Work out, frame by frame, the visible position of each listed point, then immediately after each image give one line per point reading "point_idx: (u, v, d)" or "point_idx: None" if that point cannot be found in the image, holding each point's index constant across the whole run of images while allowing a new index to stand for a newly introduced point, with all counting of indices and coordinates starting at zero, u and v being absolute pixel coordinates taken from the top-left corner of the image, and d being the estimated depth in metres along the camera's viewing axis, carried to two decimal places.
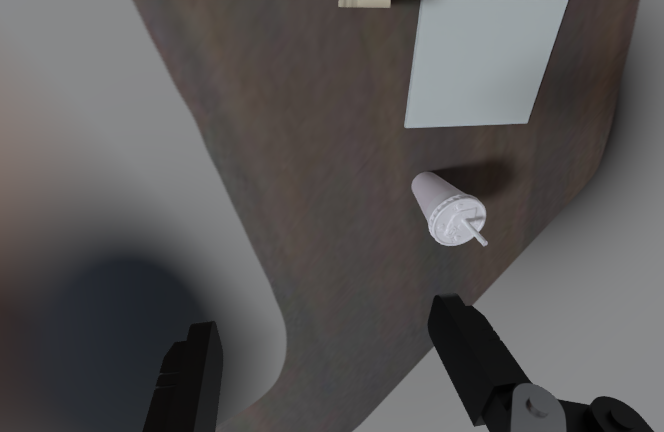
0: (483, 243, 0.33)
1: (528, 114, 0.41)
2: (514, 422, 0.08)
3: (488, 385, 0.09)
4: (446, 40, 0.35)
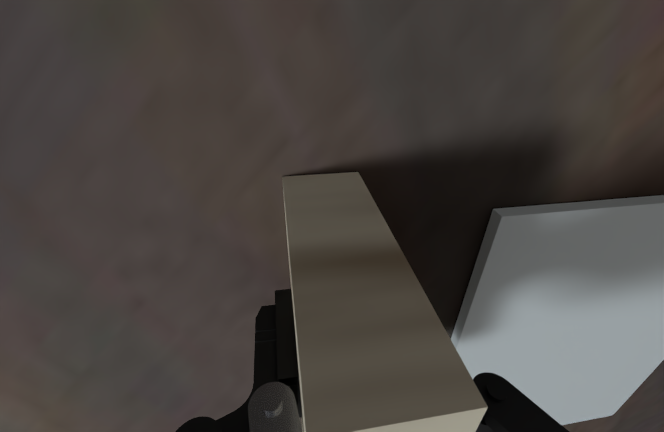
0: None
1: (616, 408, 0.25)
2: None
3: None
4: (497, 369, 0.19)
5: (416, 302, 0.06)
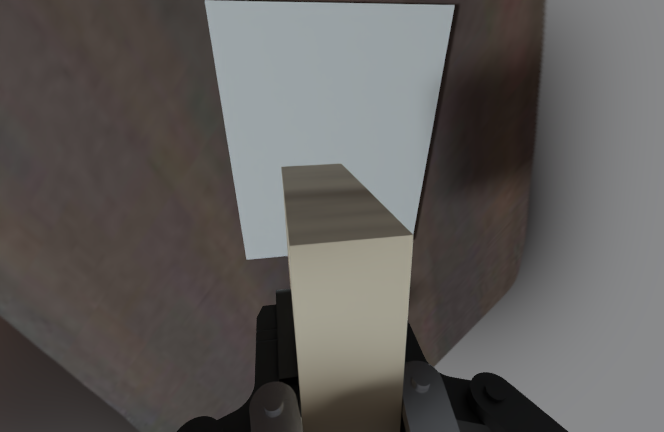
0: None
1: None
2: (408, 409, 0.08)
3: None
4: (273, 165, 0.26)
5: (374, 206, 0.09)
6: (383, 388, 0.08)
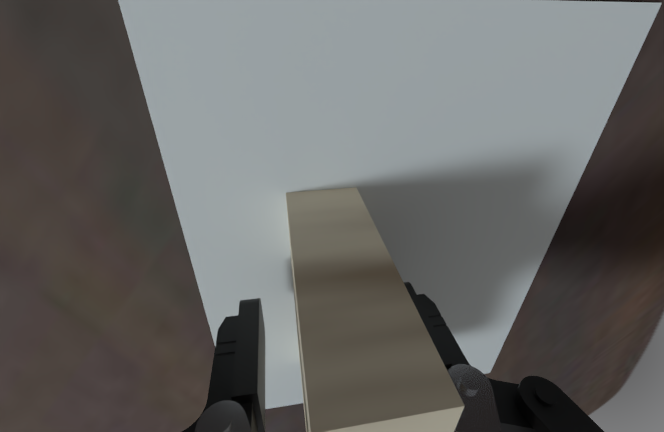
0: None
1: (491, 362, 0.21)
2: None
3: None
4: (278, 292, 0.14)
5: (406, 313, 0.07)
6: None
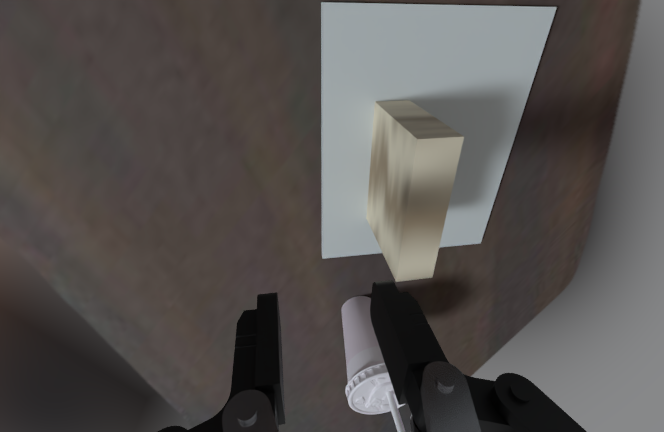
0: None
1: (481, 234, 0.32)
2: (430, 407, 0.08)
3: (405, 363, 0.10)
4: (362, 165, 0.26)
5: (442, 125, 0.19)
6: (440, 205, 0.20)
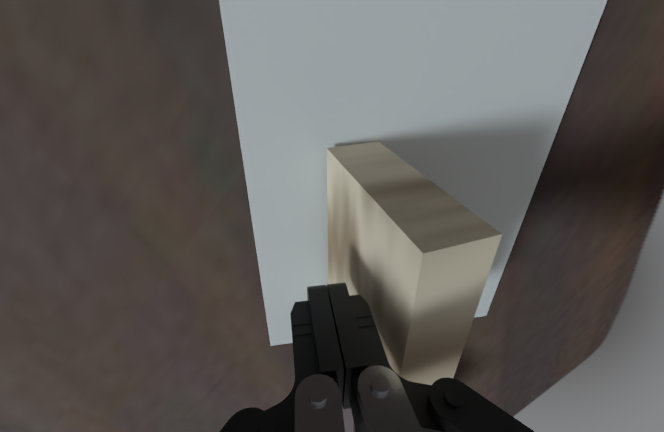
0: None
1: (487, 305, 0.24)
2: (370, 419, 0.08)
3: (344, 368, 0.10)
4: (313, 231, 0.18)
5: (450, 201, 0.11)
6: (457, 333, 0.11)
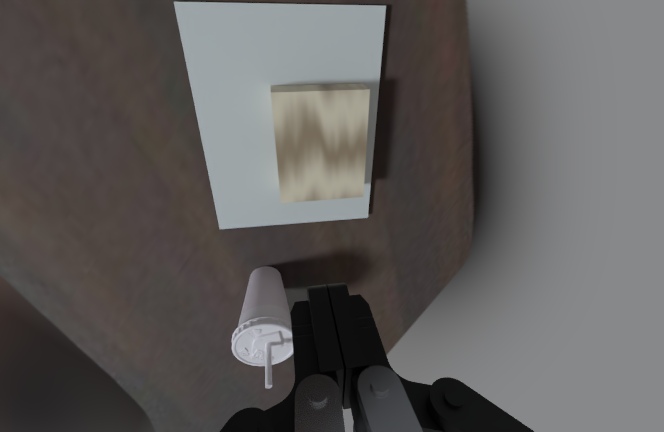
0: (267, 385, 0.28)
1: (366, 209, 0.36)
2: (370, 419, 0.08)
3: (344, 368, 0.10)
4: (238, 143, 0.30)
5: (340, 84, 0.29)
6: None
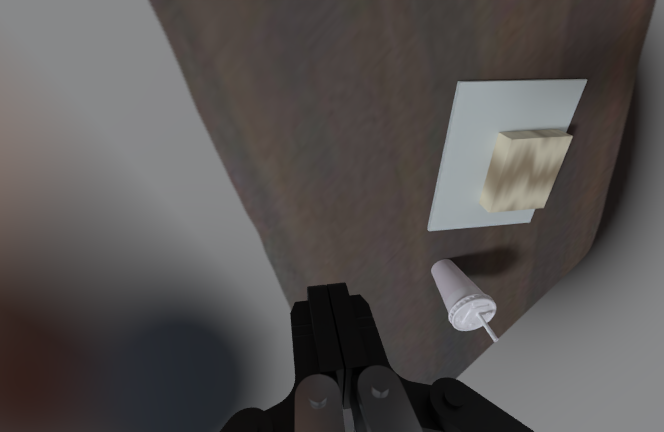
0: (495, 340, 0.41)
1: (530, 216, 0.49)
2: (370, 419, 0.08)
3: (344, 368, 0.10)
4: (464, 170, 0.42)
5: (543, 130, 0.41)
6: None
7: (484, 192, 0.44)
